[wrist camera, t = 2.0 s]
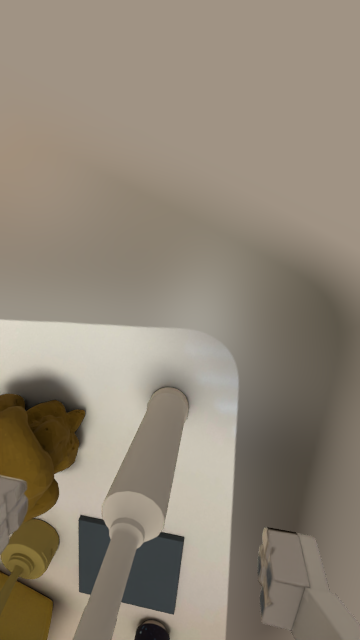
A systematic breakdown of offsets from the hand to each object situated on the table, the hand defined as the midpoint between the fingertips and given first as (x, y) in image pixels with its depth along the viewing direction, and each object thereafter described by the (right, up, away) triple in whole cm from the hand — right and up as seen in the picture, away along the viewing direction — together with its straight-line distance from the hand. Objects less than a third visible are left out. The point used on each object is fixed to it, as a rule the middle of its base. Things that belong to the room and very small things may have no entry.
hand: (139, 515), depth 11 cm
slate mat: (-7, -32, +40) cm, 52 cm away
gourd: (-18, -8, +35) cm, 40 cm away
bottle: (0, -4, +31) cm, 31 cm away
